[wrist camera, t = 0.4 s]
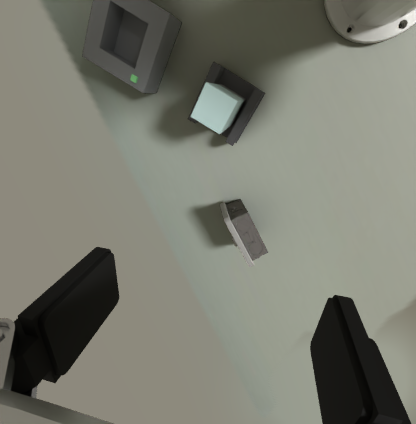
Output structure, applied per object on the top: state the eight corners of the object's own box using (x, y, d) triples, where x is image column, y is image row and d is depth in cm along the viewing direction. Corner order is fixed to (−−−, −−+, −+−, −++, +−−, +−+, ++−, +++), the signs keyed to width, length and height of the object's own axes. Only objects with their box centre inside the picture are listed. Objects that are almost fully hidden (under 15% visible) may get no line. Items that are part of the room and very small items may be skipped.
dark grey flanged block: (218, 64, 35) (212, 60, 31) (265, 93, 35) (264, 93, 32) (194, 116, 39) (186, 118, 35) (236, 141, 39) (233, 146, 35)
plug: (221, 84, 35) (205, 81, 26) (246, 99, 35) (238, 101, 26) (208, 111, 37) (189, 116, 28) (231, 125, 37) (220, 135, 28)
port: (119, -16, 33) (96, -32, 29) (181, 22, 34) (168, 12, 29) (101, 60, 38) (80, 55, 34) (156, 93, 39) (142, 93, 34)
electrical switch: (219, 201, 44) (213, 224, 36) (245, 190, 43) (245, 211, 34) (241, 242, 47) (240, 272, 39) (266, 233, 46) (271, 262, 37)
